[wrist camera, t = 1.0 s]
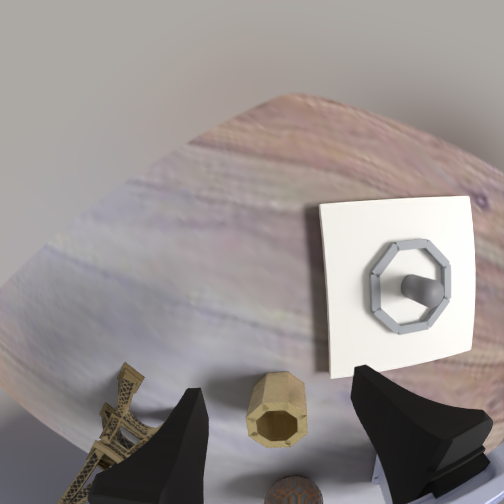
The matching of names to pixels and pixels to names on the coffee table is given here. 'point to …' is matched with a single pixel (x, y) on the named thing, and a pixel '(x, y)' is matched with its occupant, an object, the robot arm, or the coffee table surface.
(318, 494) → the vase
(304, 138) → the coffee table surface
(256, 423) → the collar
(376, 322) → the post board
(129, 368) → the eiffel tower
